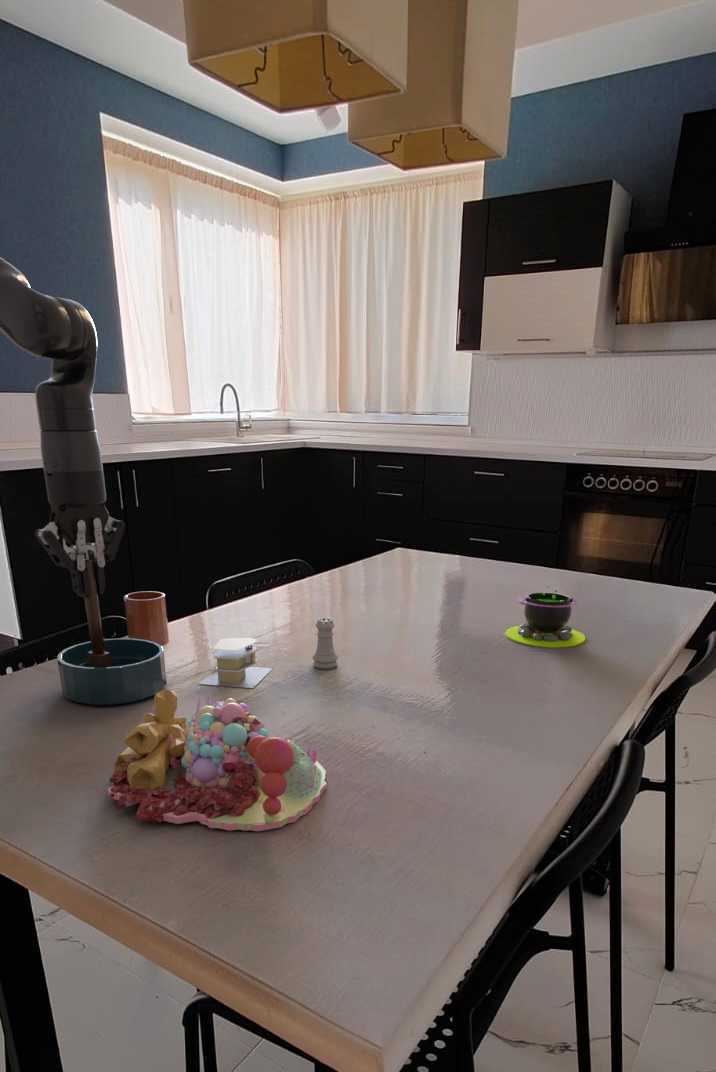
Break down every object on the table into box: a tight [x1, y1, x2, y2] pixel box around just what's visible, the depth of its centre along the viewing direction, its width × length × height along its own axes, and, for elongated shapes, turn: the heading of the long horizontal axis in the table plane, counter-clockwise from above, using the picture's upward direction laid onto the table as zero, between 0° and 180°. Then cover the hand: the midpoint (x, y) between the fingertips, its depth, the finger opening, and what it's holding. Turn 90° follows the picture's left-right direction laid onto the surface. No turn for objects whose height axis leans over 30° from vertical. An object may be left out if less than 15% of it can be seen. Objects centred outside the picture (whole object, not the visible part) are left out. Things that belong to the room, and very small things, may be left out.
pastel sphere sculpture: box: [107, 688, 327, 832], centre depth 88 cm, size 25×24×9 cm
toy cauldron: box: [505, 576, 586, 649], centre depth 145 cm, size 15×15×11 cm
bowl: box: [56, 637, 168, 706], centre depth 117 cm, size 15×15×6 cm
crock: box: [123, 590, 170, 646], centre depth 138 cm, size 7×7×9 cm
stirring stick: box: [84, 558, 112, 668], centre depth 111 cm, size 3×2×18 cm, turn 54°
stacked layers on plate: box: [198, 637, 273, 689], centre depth 123 cm, size 10×9×6 cm
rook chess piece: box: [311, 617, 339, 670], centre depth 128 cm, size 4×4×8 cm
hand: (90, 594), depth 110 cm, fingers closed on stirring stick, 2 cm apart
